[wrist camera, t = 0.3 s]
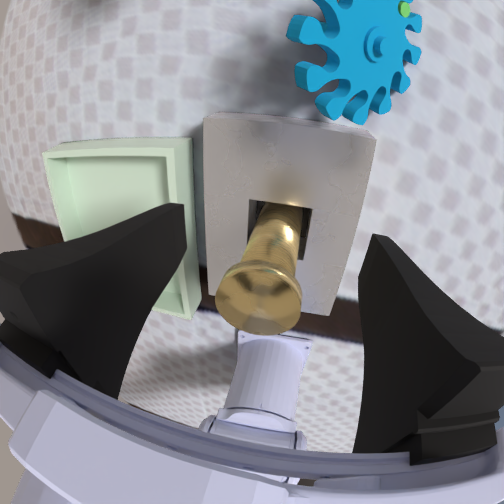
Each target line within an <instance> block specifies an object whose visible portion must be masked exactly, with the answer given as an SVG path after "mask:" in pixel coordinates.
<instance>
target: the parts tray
mask: <svg viewBox="0 0 504 504" xmlns="http://www.w3.org/2000/svg"><path fill="white" fill-rule="evenodd" d="M42 154H43V159H44V165H45V170H46V175H47V179H48V184H49V188H50V192H51V197H52V200H53V204H54V208H55V212H56V215H57V219H58V222H59V226H60V229H61V232H62V235H63V238H64V241H68V240H72V239H76V238H79V237H83V236H85V235H88V234H91V233H94V232H97V231H100V230H102V229H105V228H108V227H110V226H112V225H115V224H117V223H119V222H122V221H124V220H127V219H129V218H131V217H134V216H136V215H138V214H141V213H143V212H145V211H148V210H150V209H152V208H155V207H157V206H160V205H163V204H166V203H179V204H184V211H185V225H186V238H187V250H186V252H185V254H184V257H183V259H182V261H181V263H180V265H179V267H178V269H177V270H176V272H175V274H174V275H173V277H172V278H171V280H170V281H169V283H168V284H167V286H166V288H165V289H164V291H163V292H162V294H161V295H160V297H159V298H158V300H157V301H156V303H155V305H154V306H153V308H152V310H154V311H157V312H161V313H165V314H169V315H172V316H176V317H180V318H184V319H188V320H192V318H193V316H194V314H195V311H196V309H197V307H198V305H199V303H200V301H201V299H202V298H201V287H200V276H199V264H198V251H197V237H196V221H195V203H194V180H193V143H192V138H183V137H136V138H111V139H95V140H83V141H72V142H64V143H62V144H59V145H57V146H55V147H53V148H51V149H49V150H47V151H45V152H43V153H42Z"/></svg>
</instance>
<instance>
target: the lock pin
mask: <svg viewBox="0 0 504 504" xmlns="http://www.w3.org/2000/svg"><path fill="white" fill-rule="evenodd" d="M302 217H303V207H300V206H293V205H287V204H280V203H273V202H266V201H265V203H264V205H263V207H262V210H261V212H260V215H259V217H258V220H257V222H256V224H255V227H254V229H253V232H252V234H251V237H250V239H249V242H248V244H247V246H246V249H245V251H244V254H243V256H242V259H241V261H240V263H237V264H235V265H233V266H232V267H230V268H229V269H228V270H227V271H226V272H225V274H224V276H223V278H222V280H221V282H220V285H219V287H218V289H217V291H216V295H215V303H216V307H217V309H218V311H219V313H220V314H221V316H222V317H223V318H224V319H225V320H226V321H227V322H228V323H230V324H231V325H232V326H234V327H235V328H237V329H239V330H242V331H244V332H247V333H250V334H254V335H263V336H269V335H276V334H280V333H283V332H286V331H288V330H289V329H291V328H292V327H293V326H294V325H295V324H296V323H297V321H298V320H299V317H300V312H301V304H302V289H301V286H300V284H299V282H298V281H297V279H296V278H295V272H296V265H297V257H298V250H299V242H300V234H301V226H302Z"/></svg>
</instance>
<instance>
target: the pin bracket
mask: <svg viewBox="0 0 504 504" xmlns="http://www.w3.org/2000/svg"><path fill="white" fill-rule="evenodd" d="M375 146H376V139H375V138H374V137H373V136H372V135H371V134H370V133H369V132H368V131H367V130H362V129H358V128H353V127H348V126H343V125H337V124H332V123H326V122H320V121H313V120H306V119H299V118H291V117H283V116H273V115H262V114H250V113H233V112H217V113H215V114H212V115H210V116H207V117H204V118H203V173H204V210H205V235H206V256H207V273H208V288H209V295H214V296H215V295H216V291H217V289H218V287H219V285H220V282H221V280H222V278H223V276H224V274H225V272H226V271H227V270H228V269H229V268H230V267H232V266H233V265H235V264H237V263H240V261H241V259H242V256H243V254H244V251H245V249H246V246H247V244H248V242H249V239H250V237H251V234H252V232H253V229H254V227H255V222H256V207H257V200H259V201H266V202H273V203H280V204H287V205H293V206H300V207H306V208H311V209H310V215H309V221H308V227H307V232H306V238H303V237H300V242H299V250H298V257H297V265H296V272H295V278H296V279H297V281H298V282H299V284H300V286H301V289H302V304H301V312H308V313H314V314H320V315H327V316H329V315H330V312H331V309H332V306H333V303H334V300H335V297H336V294H337V291H338V288H339V285H340V282H341V279H342V276H343V273H344V270H345V266H346V263H347V260H348V256H349V253H350V250H351V246H352V243H353V239H354V236H355V232H356V228H357V225H358V221H359V217H360V213H361V209H362V205H363V201H364V197H365V193H366V189H367V184H368V180H369V175H370V171H371V166H372V161H373V156H374V151H375Z"/></svg>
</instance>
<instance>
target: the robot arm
mask: <svg viewBox="0 0 504 504" xmlns="http://www.w3.org/2000/svg"><path fill="white" fill-rule="evenodd" d="M186 250H187V238H186V225H185V211H184V204H179V203H166V204H163V205H160V206H157V207H155V208H152V209H150V210H148V211H145V212H143V213H141V214H138V215H136V216H134V217H131V218H129V219H127V220H124V221H122V222H119V223H117V224H115V225H112V226H110V227H108V228H105V229H102V230H100V231H97V232H94V233H91V234H88V235H85V236H83V237H79V238H76V239H72V240H68V241H65V242H61V243H58V244H53V245H49V246H44V247H39V248H33V249H27V250H19V251H10V252H3V253H1V254H0V312H1V313H2V315H3V317H4V318H5V320H4V322H3V323H2V324H0V417H1V418H2V419H3V420H4V422H5V423H6V424H7V425H8V426H9V427H10V428H11V429H12V430H13V433H12V435H11V437H10V439H9V443H8V445H9V447H10V450H11V453H12V454H13V455H14V456H15V457H16V458H17V459H18V460H19V462H20V463H21V464H22V465H23V466H25V468H26V469H25V471H24V473H23V475H22V478H21V480H20V482H19V484H18V486H17V489H16V491H15V494H14V496H13V498H12V501H11V503H10V504H497V503H499V502H501V501H503V500H504V427H502V428H500V429H498V430H496V431H495V425H494V423H496V422H497V421H499V418H500V416H499V411H498V409H500V408H501V407H502V406H503V405H504V337H502V336H501V335H499V334H498V333H496V332H495V331H493V330H492V329H490V328H489V327H487V326H485V325H484V324H483V323H481V322H480V321H478V320H477V319H476V318H474V317H473V316H472V315H470V314H469V313H468V312H467V311H465V310H464V309H463V308H461V307H460V306H459V305H458V304H456V303H455V302H454V301H453V300H452V299H451V298H450V297H449V296H447V295H446V294H445V293H444V292H443V291H442V290H441V289H440V288H439V287H437V286H436V285H435V284H434V283H433V282H432V281H431V280H430V279H429V278H428V277H427V276H426V275H425V274H424V273H423V272H422V271H421V269H420V268H419V267H418V266H417V265H416V264H415V263H414V262H413V261H412V260H411V259H410V258H409V257H408V256H407V255H406V254H405V253H404V252H403V250H402V249H401V248H400V247H399V246H398V245H397V244H396V243H395V242H394V241H393V240H391V239H390V238H389V237H388V236H383V235H378V234H372V237H371V240H370V243H369V247H368V250H367V253H366V256H365V259H364V262H363V265H362V268H361V271H360V273H359V276H358V300H359V308H360V317H361V325H362V334H363V343H364V380H363V392H362V402H361V409H360V416H359V423H358V429H357V433H356V438H355V443H354V448H353V452H352V453H330V452H317V451H306V448H307V439H306V437H305V436H304V435H303V432H302V431H296V426H297V422H295V421H294V419H295V413H296V406H297V400H298V393H299V385H300V378H301V374H302V371H303V369H304V366H305V364H306V361H307V358H308V356H309V353H310V350H311V348H312V341H310V340H306V339H299V338H293V337H287V336H281V335H269V336H263V335H254V334H250V333H247V332H244V331H242V330H239V331H238V350H237V365H236V369H235V372H234V375H233V379H232V382H231V385H230V388H229V392H228V395H227V398H226V401H225V405H224V408H219V410H218V414H217V416H215V415H210V416H209V417H208V418H206V419H204V420H203V421H202V423H201V424H200V426H199V428H198V429H195V428H191V427H188V426H185V425H182V424H178V423H175V422H172V421H169V420H167V419H164V418H161V417H158V416H155V415H153V414H150V413H147V412H145V411H142V410H140V409H137V408H135V407H132V406H130V405H128V404H125V403H123V402H120V401H118V396H119V392H120V388H121V385H122V381H123V378H124V374H125V371H126V368H127V365H128V363H129V360H130V357H131V354H132V351H133V349H134V346H135V344H136V341H137V339H138V337H139V334H140V332H141V330H142V328H143V325H144V323H145V321H146V319H147V317H148V315H149V313H150V311H151V310H152V308H153V306H154V305H155V303H156V301H157V300H158V298H159V297H160V295H161V294H162V292H163V291H164V289H165V288H166V286H167V284H168V283H169V281H170V280H171V278H172V277H173V275H174V274H175V272H176V270H177V269H178V267H179V265H180V263H181V261H182V259H183V257H184V254H185V252H186ZM101 420H102V421H101ZM103 421H104V422H103ZM105 422H106V423H105ZM107 423H108V424H107ZM109 424H110V425H109ZM124 431H125V432H124ZM133 435H134V436H133ZM140 438H141V439H140ZM145 440H146V441H145ZM150 442H151V443H150ZM155 444H156V445H155ZM166 448H167V449H166ZM190 456H191V457H190ZM300 478H303V479H316V480H317V481H315V482H314V486H313V487H308V486H301V485H297V483H298V481H299V479H300Z"/></svg>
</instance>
